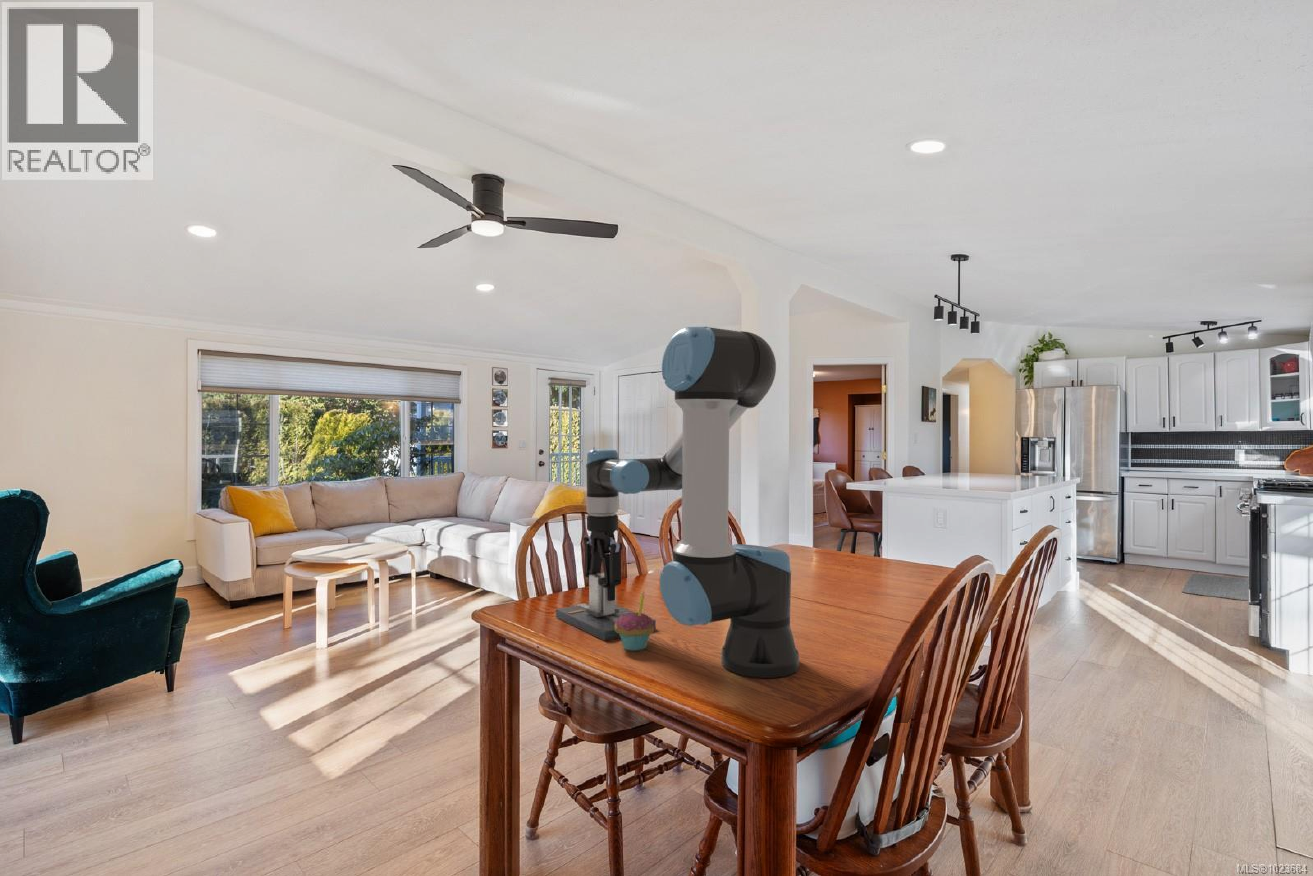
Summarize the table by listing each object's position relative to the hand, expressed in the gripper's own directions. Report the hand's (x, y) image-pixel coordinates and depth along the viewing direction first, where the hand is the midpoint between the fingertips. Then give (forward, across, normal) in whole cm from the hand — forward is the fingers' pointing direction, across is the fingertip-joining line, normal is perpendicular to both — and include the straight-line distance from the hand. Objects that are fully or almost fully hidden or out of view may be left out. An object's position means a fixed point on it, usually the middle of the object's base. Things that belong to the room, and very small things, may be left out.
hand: (602, 610), depth 153 cm
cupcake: (+3, -19, +4) cm, 19 cm away
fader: (0, 0, 0) cm, 0 cm away
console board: (+3, -1, 0) cm, 3 cm away
